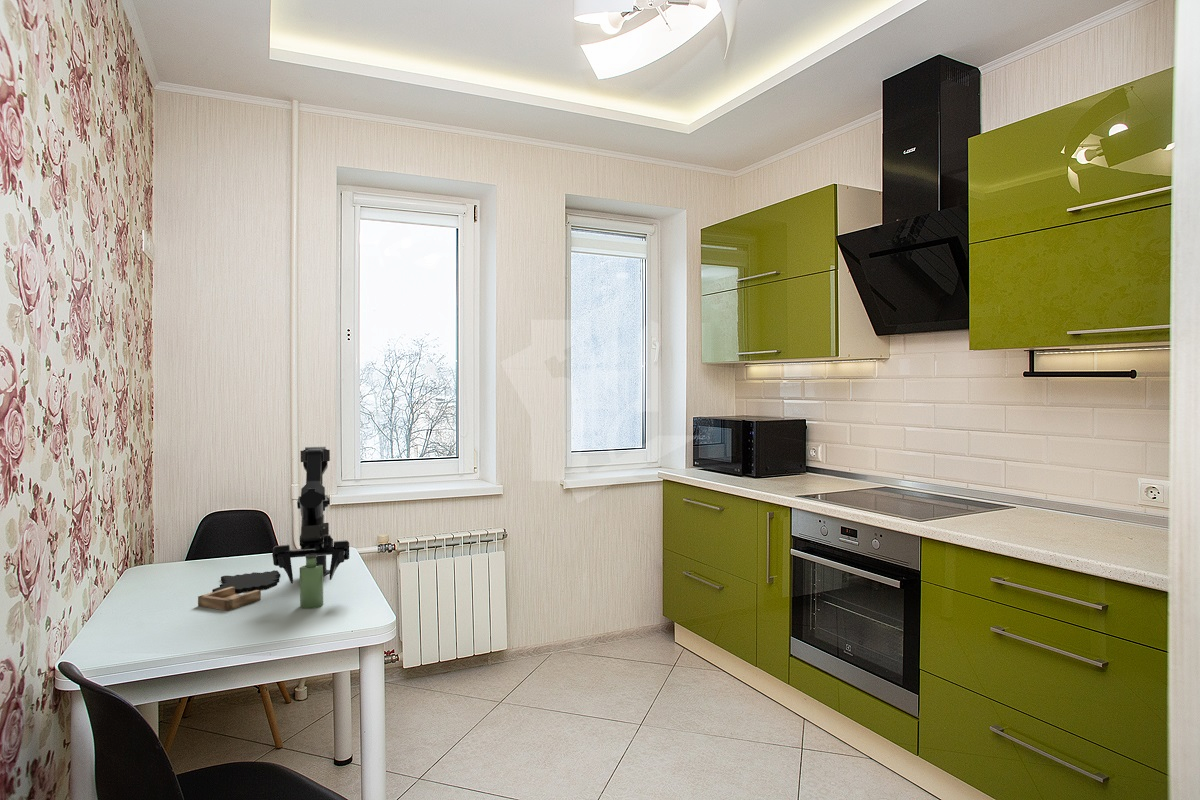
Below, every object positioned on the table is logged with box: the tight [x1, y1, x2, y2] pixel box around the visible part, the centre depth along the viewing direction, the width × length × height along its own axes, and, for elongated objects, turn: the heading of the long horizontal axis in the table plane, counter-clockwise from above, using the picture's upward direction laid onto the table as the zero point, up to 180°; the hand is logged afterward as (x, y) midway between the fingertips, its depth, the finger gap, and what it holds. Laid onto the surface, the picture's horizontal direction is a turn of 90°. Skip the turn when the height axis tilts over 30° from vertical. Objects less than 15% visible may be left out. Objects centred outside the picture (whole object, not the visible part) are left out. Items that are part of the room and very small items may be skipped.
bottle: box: [299, 553, 324, 610], centre depth 180 cm, size 6×6×13 cm
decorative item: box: [211, 569, 281, 594], centre depth 202 cm, size 23×2×20 cm
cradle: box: [197, 587, 262, 612], centre depth 183 cm, size 10×11×2 cm
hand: (311, 580), depth 179 cm, fingers open, 9 cm apart
